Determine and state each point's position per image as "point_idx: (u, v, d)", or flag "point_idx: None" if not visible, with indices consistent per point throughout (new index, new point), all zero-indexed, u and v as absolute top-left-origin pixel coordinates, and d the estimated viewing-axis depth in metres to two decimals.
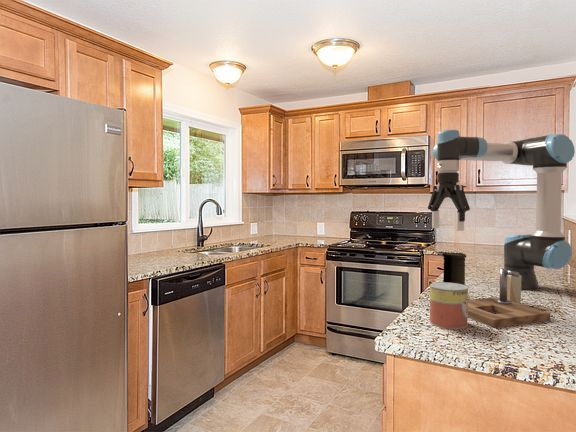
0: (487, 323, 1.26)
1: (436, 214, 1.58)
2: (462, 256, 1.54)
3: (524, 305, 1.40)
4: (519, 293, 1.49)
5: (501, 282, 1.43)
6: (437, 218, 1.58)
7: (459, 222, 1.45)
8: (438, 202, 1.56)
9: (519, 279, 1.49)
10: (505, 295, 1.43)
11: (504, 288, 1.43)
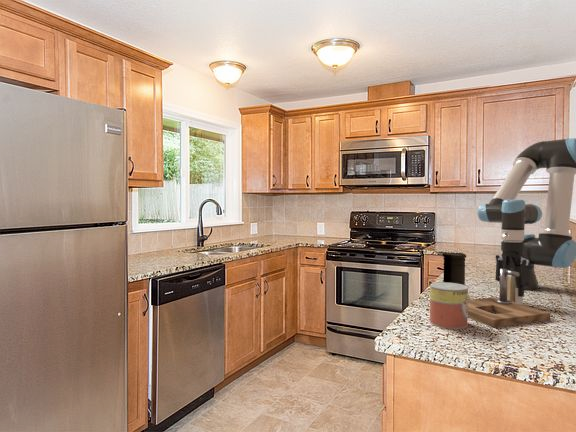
0: (487, 323, 1.26)
1: None
2: (462, 256, 1.54)
3: (524, 305, 1.40)
4: None
5: (501, 282, 1.43)
6: None
7: (518, 297, 1.48)
8: None
9: None
10: (505, 295, 1.43)
11: (504, 288, 1.43)
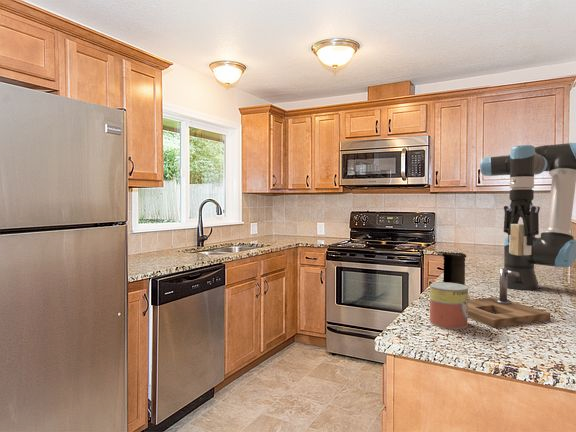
0: (487, 323, 1.26)
1: None
2: (462, 256, 1.54)
3: (524, 305, 1.40)
4: None
5: (501, 282, 1.43)
6: None
7: (526, 246, 1.42)
8: (514, 222, 1.48)
9: None
10: (505, 295, 1.43)
11: (504, 288, 1.43)
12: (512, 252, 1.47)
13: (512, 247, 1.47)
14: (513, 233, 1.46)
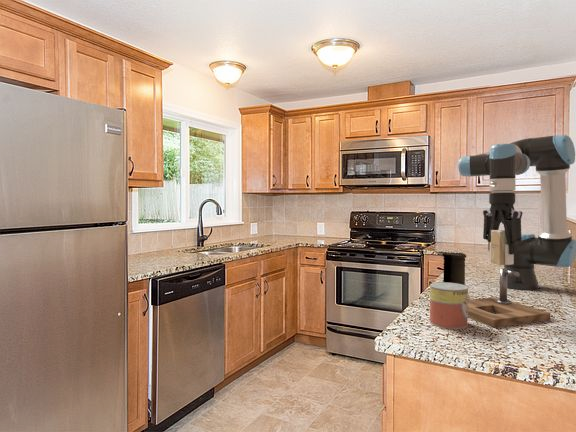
0: (487, 323, 1.26)
1: None
2: (462, 256, 1.54)
3: (524, 305, 1.40)
4: None
5: (501, 282, 1.43)
6: None
7: (508, 255, 1.29)
8: (494, 228, 1.35)
9: None
10: (505, 295, 1.43)
11: (504, 288, 1.43)
12: (493, 261, 1.34)
13: (493, 256, 1.34)
14: (494, 241, 1.33)
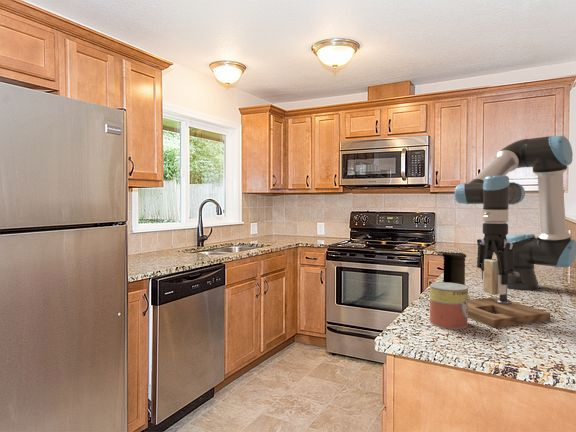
0: (487, 323, 1.26)
1: None
2: (462, 256, 1.54)
3: (524, 305, 1.40)
4: None
5: None
6: None
7: (501, 285, 1.31)
8: (488, 258, 1.37)
9: None
10: (505, 295, 1.43)
11: None
12: (486, 290, 1.36)
13: (486, 285, 1.36)
14: (487, 270, 1.35)
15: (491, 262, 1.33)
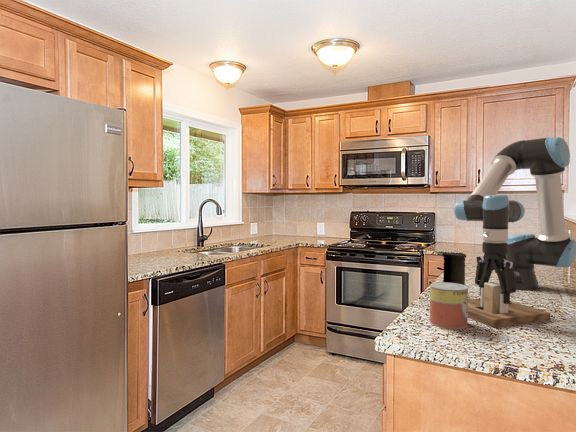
0: (487, 323, 1.26)
1: None
2: (462, 256, 1.54)
3: (524, 305, 1.40)
4: None
5: None
6: None
7: (503, 304, 1.31)
8: (486, 276, 1.38)
9: None
10: None
11: None
12: None
13: (486, 308, 1.36)
14: (487, 294, 1.35)
15: (491, 286, 1.33)
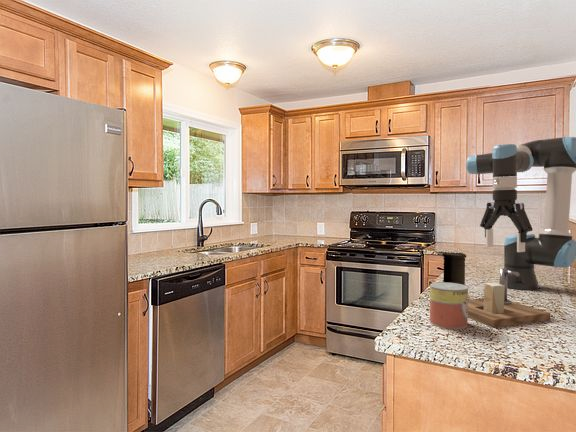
0: (487, 323, 1.26)
1: (490, 232, 1.49)
2: (462, 256, 1.54)
3: (524, 305, 1.40)
4: (502, 305, 1.33)
5: (501, 282, 1.43)
6: (491, 236, 1.50)
7: (520, 243, 1.36)
8: (493, 220, 1.47)
9: (502, 289, 1.33)
10: (505, 295, 1.43)
11: None
12: None
13: (486, 308, 1.36)
14: (487, 294, 1.35)
15: (492, 286, 1.33)
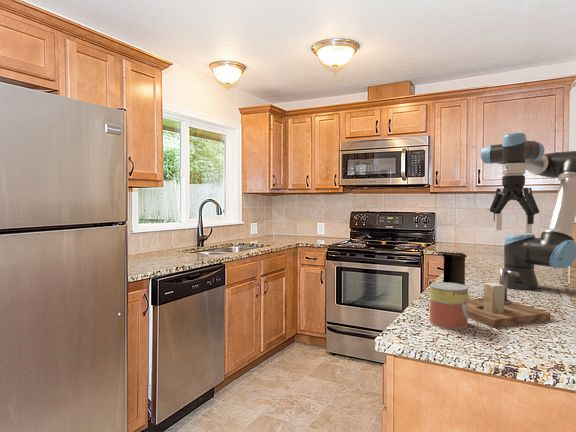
0: (487, 323, 1.26)
1: (499, 216, 1.59)
2: (462, 256, 1.54)
3: (524, 305, 1.40)
4: (502, 305, 1.33)
5: (501, 282, 1.43)
6: (500, 220, 1.59)
7: (527, 225, 1.46)
8: (502, 205, 1.57)
9: (502, 289, 1.33)
10: (505, 295, 1.43)
11: None
12: None
13: (486, 308, 1.36)
14: (487, 294, 1.35)
15: (491, 286, 1.33)
